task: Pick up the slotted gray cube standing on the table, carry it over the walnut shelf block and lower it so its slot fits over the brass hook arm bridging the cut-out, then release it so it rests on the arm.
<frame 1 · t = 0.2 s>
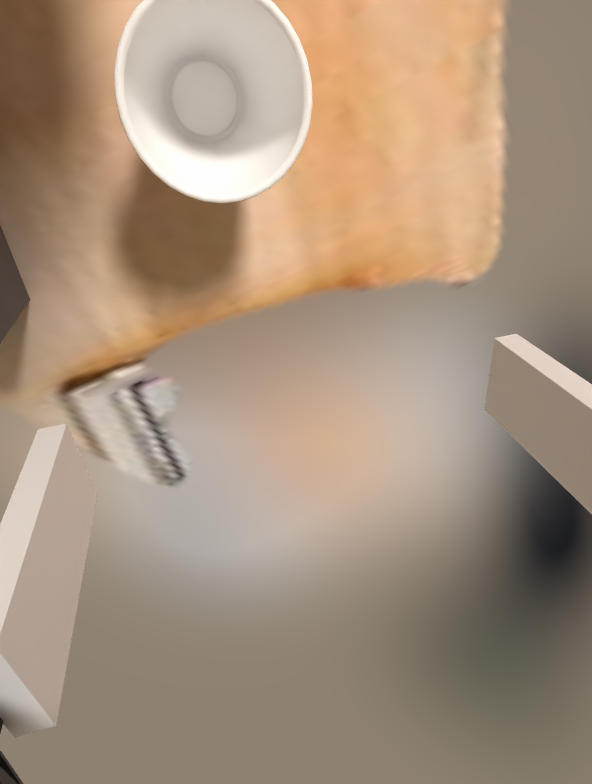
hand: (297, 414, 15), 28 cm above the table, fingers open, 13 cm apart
cup: (204, 99, 34), on the table
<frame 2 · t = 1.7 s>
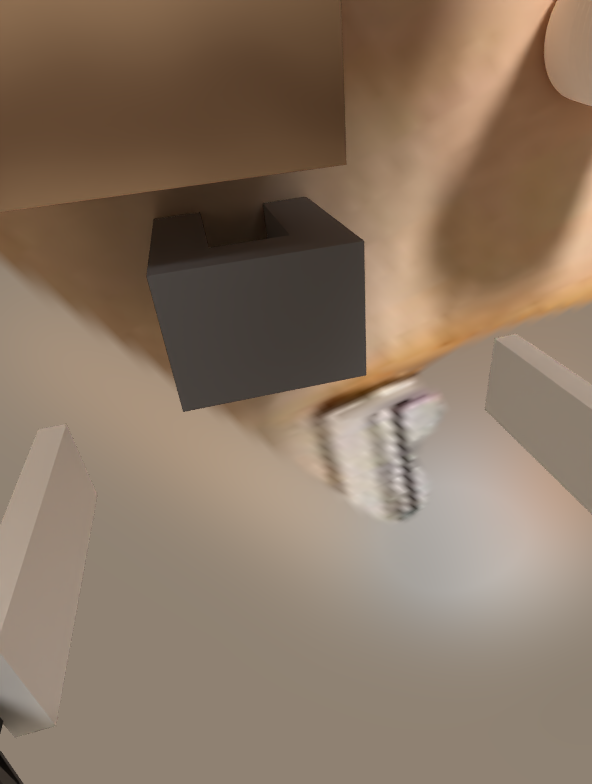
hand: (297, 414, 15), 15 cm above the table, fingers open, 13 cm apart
slotted gray cube: (240, 263, 27), on the table
cup: (590, 32, 25), on the table
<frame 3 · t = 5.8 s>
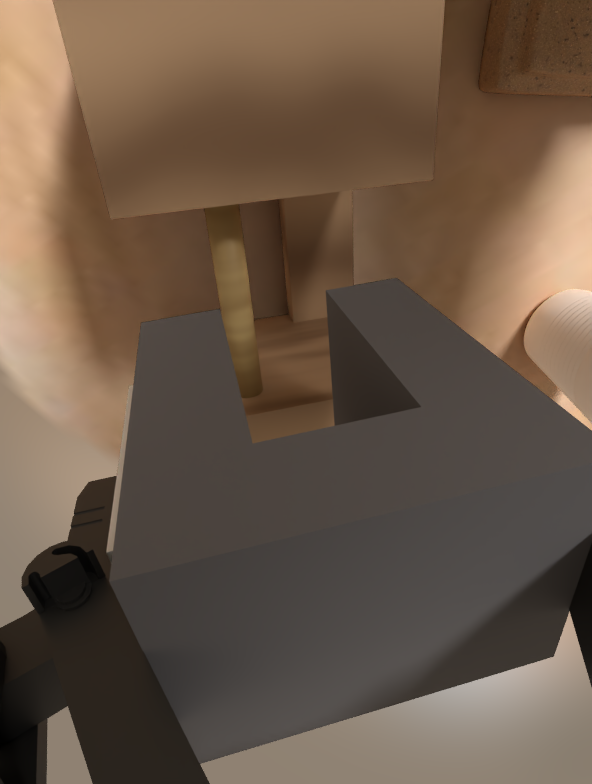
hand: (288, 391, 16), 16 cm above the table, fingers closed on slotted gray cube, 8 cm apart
slotted gray cube: (283, 380, 17), point 15 cm above the table, touching gripper
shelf: (250, 249, 29), on the table
cup: (554, 324, 38), on the table
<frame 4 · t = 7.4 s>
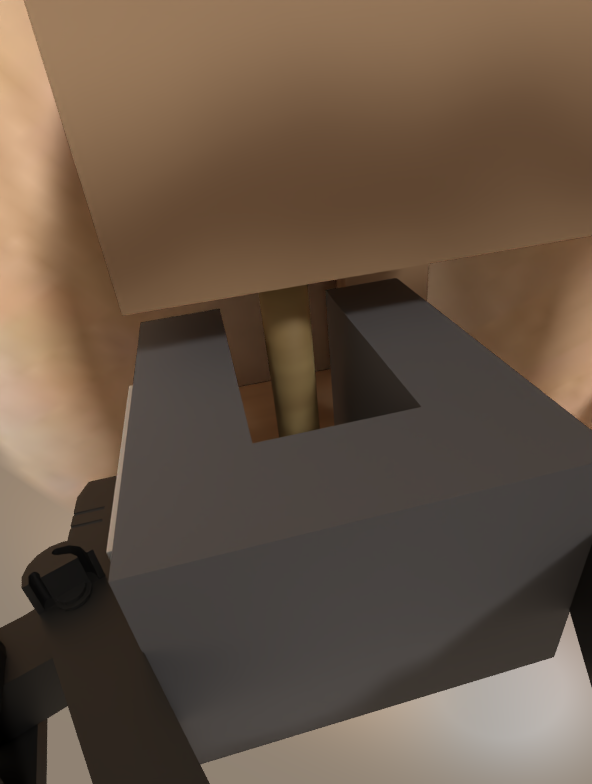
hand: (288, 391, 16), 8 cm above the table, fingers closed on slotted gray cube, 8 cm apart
slotted gray cube: (283, 380, 17), point 7 cm above the table, touching gripper
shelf: (296, 293, 23), on the table
when the fingers open (5 cm above the table, at t = 8.5 s): slotted gray cube drops 1 cm, resting on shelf.
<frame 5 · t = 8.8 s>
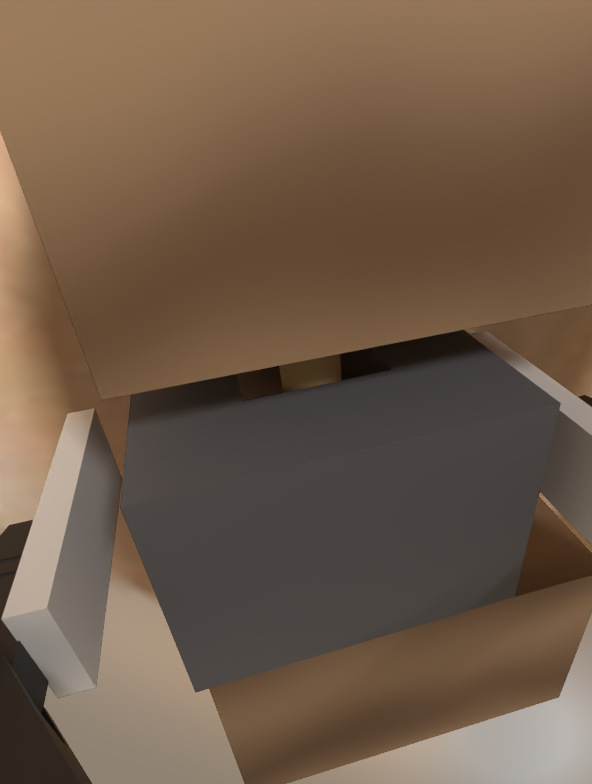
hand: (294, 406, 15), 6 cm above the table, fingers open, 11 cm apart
slotted gray cube: (273, 361, 18), point 2 cm above the table, touching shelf
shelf: (310, 325, 20), on the table
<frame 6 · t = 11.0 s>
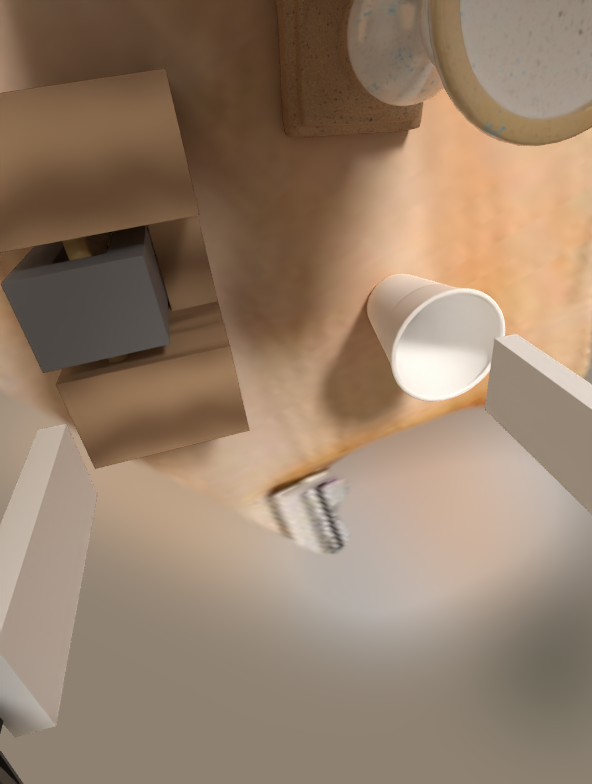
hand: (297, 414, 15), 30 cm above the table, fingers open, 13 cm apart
candle holder: (349, 51, 37), on the table
slotted gray cube: (105, 273, 38), point 2 cm above the table, touching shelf
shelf: (133, 259, 40), on the table
cup: (394, 302, 48), on the table
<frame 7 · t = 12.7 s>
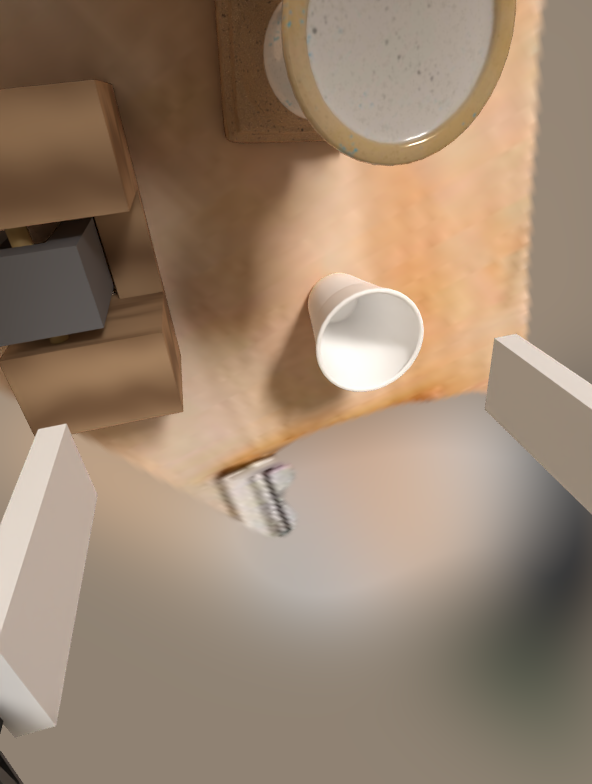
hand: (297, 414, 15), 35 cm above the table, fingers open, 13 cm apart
candle holder: (285, 65, 40), on the table
slotted gray cube: (53, 261, 41), point 2 cm above the table, touching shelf
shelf: (83, 249, 43), on the table
cup: (334, 299, 51), on the table
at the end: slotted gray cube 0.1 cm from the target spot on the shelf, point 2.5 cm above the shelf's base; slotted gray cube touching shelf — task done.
